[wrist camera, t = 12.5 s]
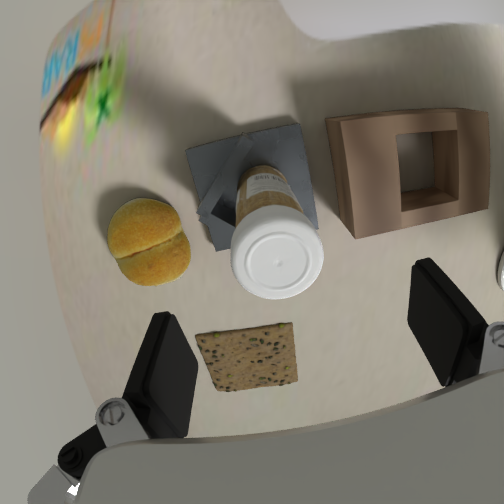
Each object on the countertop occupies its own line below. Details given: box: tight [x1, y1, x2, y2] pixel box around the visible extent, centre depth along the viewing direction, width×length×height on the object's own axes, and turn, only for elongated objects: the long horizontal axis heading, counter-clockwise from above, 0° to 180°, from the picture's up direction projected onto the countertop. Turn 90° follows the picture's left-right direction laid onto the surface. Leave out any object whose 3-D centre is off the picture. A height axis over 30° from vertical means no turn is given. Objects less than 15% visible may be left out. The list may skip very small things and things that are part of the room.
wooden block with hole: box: [325, 108, 490, 239], centre depth 24 cm, size 16×10×4 cm, turn 103°
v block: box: [185, 123, 319, 252], centre depth 25 cm, size 10×11×4 cm
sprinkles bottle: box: [231, 165, 324, 299], centre depth 20 cm, size 5×5×14 cm
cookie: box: [195, 322, 298, 392], centre depth 37 cm, size 12×12×1 cm
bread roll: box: [107, 198, 191, 286], centre depth 28 cm, size 8×9×4 cm
